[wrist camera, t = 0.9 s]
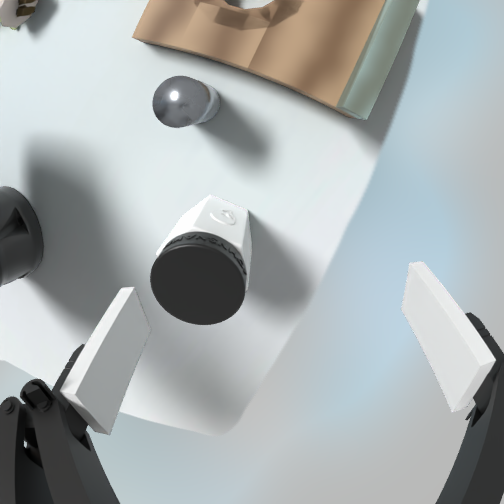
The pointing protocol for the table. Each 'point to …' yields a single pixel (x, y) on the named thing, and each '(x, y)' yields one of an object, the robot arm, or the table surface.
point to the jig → (292, 42)
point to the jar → (204, 263)
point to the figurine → (16, 12)
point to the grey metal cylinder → (185, 102)
